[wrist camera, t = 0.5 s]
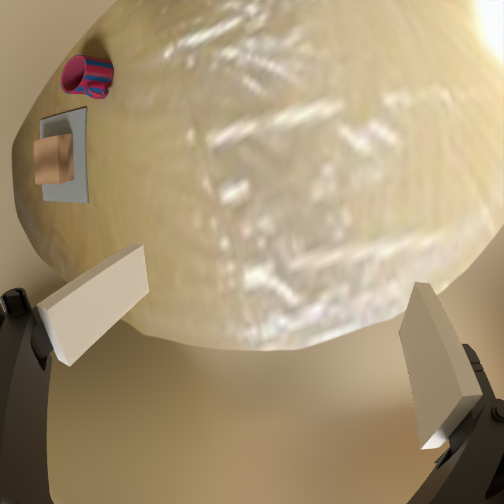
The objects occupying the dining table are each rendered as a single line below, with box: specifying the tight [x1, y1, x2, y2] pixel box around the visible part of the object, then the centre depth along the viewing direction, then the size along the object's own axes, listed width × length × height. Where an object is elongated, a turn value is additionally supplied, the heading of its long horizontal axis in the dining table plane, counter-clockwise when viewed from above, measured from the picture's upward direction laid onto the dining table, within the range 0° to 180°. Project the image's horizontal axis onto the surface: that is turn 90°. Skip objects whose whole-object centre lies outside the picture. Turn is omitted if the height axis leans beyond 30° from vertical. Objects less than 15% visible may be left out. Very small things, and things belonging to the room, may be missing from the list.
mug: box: [61, 55, 114, 99], centre depth 34 cm, size 7×10×7 cm
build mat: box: [40, 108, 89, 203], centre depth 45 cm, size 18×16×1 cm
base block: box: [34, 134, 74, 184], centre depth 43 cm, size 9×9×4 cm
